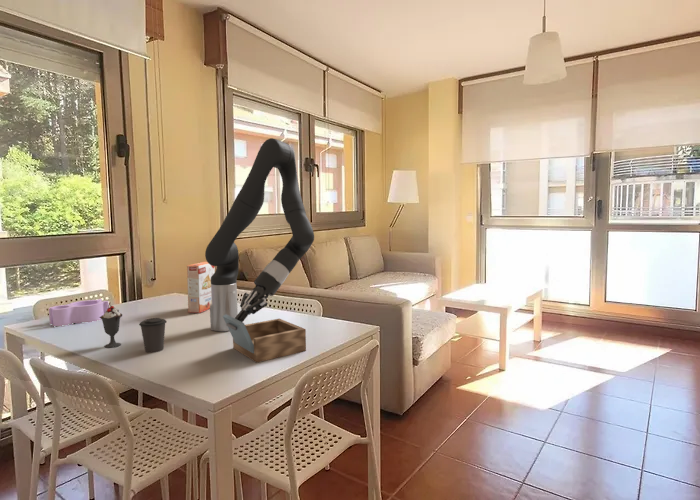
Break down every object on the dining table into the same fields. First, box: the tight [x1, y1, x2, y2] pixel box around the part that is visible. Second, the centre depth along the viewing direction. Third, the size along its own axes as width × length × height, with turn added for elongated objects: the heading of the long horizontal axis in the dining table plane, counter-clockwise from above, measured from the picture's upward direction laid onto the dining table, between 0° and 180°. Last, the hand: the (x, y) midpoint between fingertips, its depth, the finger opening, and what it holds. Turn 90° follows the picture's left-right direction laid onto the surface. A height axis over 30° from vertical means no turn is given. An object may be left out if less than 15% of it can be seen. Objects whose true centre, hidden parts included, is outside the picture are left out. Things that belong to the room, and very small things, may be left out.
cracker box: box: [186, 261, 216, 314], centre depth 195 cm, size 14×6×21 cm, turn 168°
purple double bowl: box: [48, 298, 110, 327], centre depth 178 cm, size 20×12×7 cm, turn 142°
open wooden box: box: [232, 318, 307, 363], centre depth 140 cm, size 17×17×7 cm
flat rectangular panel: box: [223, 315, 254, 353], centre depth 133 cm, size 2×13×10 cm, turn 37°
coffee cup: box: [138, 317, 167, 354], centre depth 140 cm, size 8×8×10 cm
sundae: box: [99, 302, 123, 349], centre depth 145 cm, size 7×7×15 cm
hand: (237, 322), depth 133 cm, fingers closed
